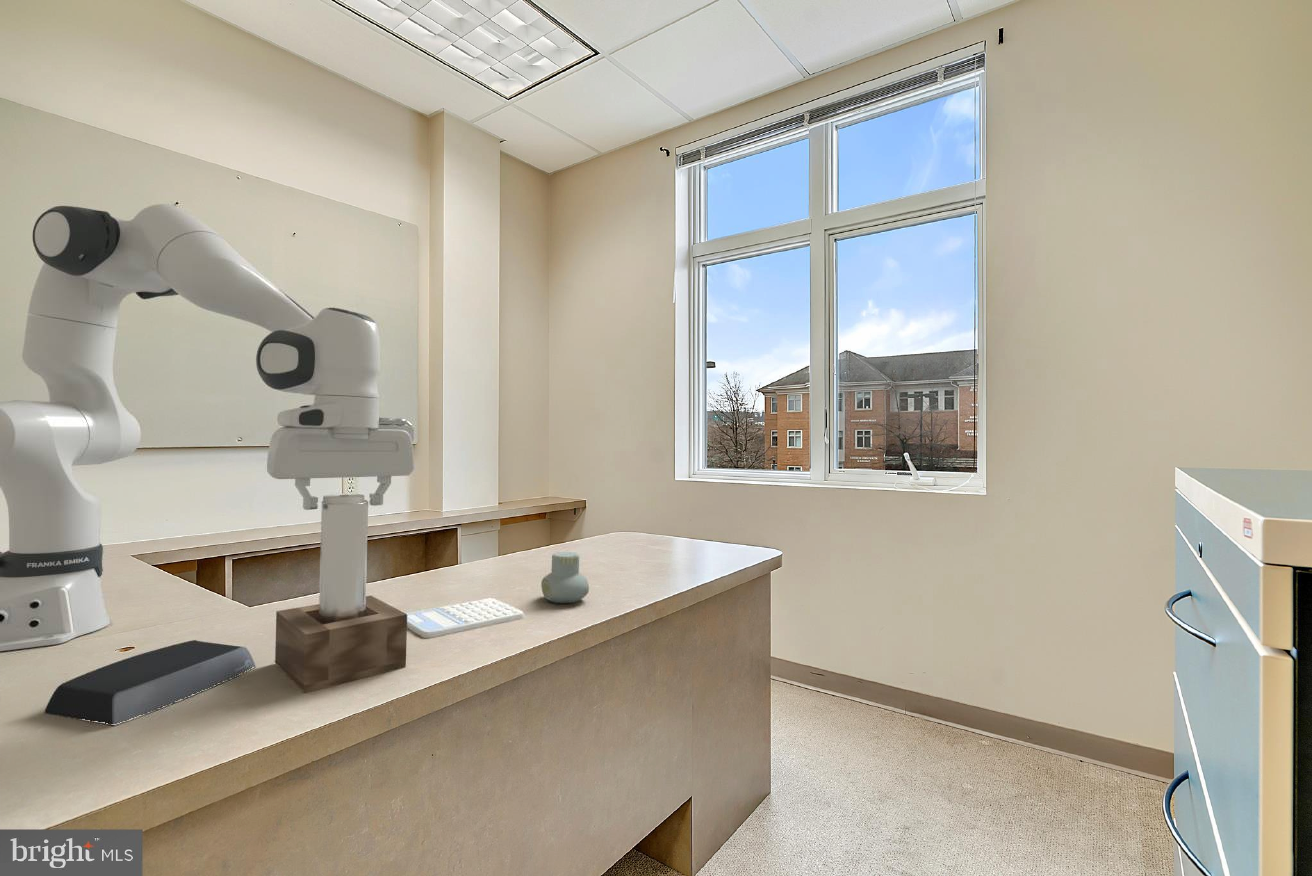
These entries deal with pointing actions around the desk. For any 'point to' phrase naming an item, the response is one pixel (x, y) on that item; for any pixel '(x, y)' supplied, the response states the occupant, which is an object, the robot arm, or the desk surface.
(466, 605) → the calculator
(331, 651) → the socket block
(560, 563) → the air freshener
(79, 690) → the external hard drive
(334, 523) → the tall grey cylinder
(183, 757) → the desk surface
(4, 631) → the robot arm
